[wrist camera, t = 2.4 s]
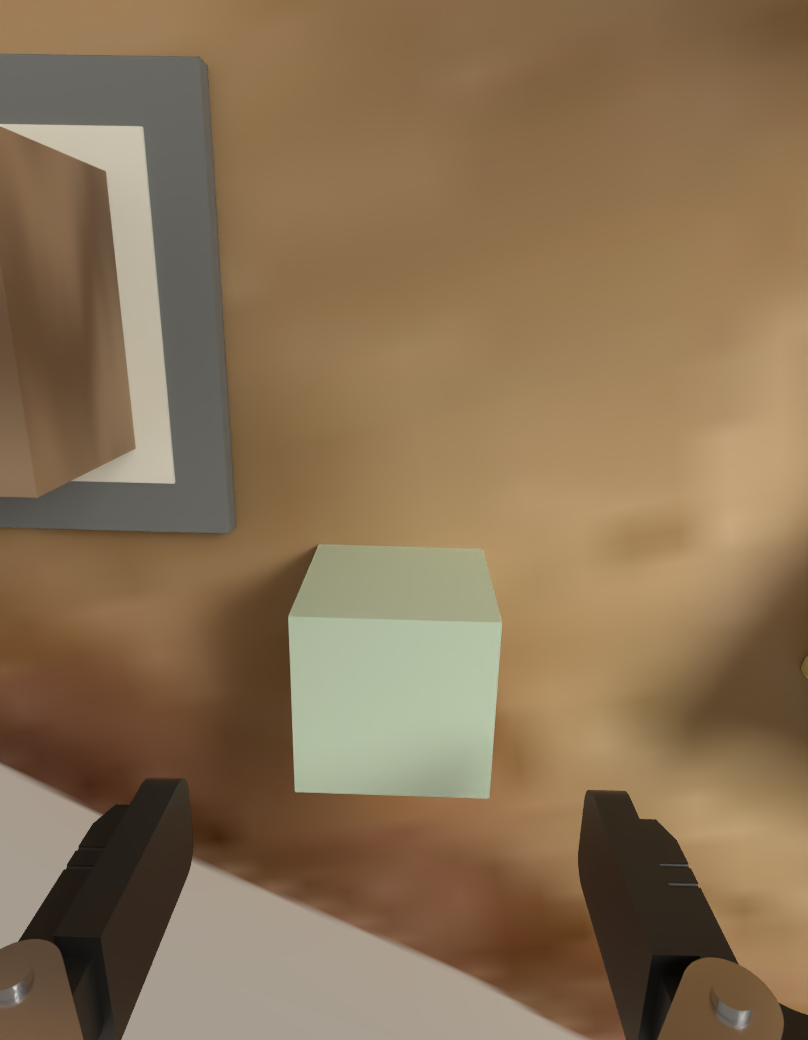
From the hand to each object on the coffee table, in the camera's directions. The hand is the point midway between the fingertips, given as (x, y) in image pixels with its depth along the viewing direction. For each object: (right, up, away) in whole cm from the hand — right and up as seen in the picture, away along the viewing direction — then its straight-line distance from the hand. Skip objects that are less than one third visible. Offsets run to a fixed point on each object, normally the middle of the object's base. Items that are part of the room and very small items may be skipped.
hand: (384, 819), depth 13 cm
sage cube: (0, +3, +8) cm, 8 cm away
